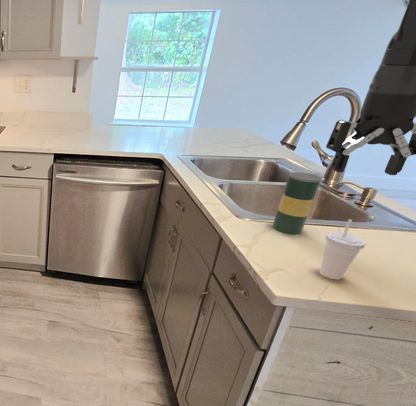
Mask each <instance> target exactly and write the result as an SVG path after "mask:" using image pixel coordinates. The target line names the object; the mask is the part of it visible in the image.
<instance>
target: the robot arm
mask: <svg viewBox="0 0 416 406" xmlns="http://www.w3.org/2000/svg"><path fill="white" fill-rule="evenodd" d="M402 4H403V6H404V7H405V11H404V13H403V16H402V20H401V21H400V24H399V27H398V29H397V30H396V32H394V33H393V34H392V35H391V37H390V39H389V41H388V43H387V44H386V47H385V51H384V53H383V56H382V58H381V61H380V62H379V63H380V64H379V65H378V68H377V70H376V72H375V73H374V75H373V77H372V80H371V82H370V84H369V86H368V90H367V92H366V96H365V98H364V100H363V103H362V106H361V109H360V112H359V117H358V119H357V120H356V121H348V120H344V119H338V120H337V121H336V122H335V124H334V127H333V128H332V131H331V134H330V136H329V138H328V141H327V143H326V145H325V147H326V149H328V150H330V151H333V152H335V155H334V157H333V160H332V162H331V168H332V170H333V172H336V173H344V172H345V169H346V167H347V164H348V162H349V159H350V154H351V153H353V152H354V151H356V150H357V149H359V148H362V147H364V146H365V145H379V144H380V145H384V146H389V147H390V148H391V150H392V152H393V153H394V154H391V155H390V157H389V158H388V159H389V160H388V161H387V164H386V166H385V169H384V173H385V174H387V175H389V176H397V175H398V173H400V172H402V171H403V167H404V165H405V163H406V161H407V159H408V158H409V157H410V156H415V155H416V122H414V119H415V118H416V0H402ZM353 129H354V131H355V132H354V133H352V134H351V135H350V136H348V133H350V132H352V130H353ZM410 131H411V135H410V138H409V142H408V141H407V139H406V137H405V135H406V134H408V133H409V132H410ZM347 136H348V137H347Z"/></svg>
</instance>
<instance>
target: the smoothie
mask: <svg viewBox="0 0 416 406" xmlns="http://www.w3.org/2000/svg"><path fill="white" fill-rule="evenodd" d="M352 222H353V219H350V218H348V220H347V222H346V225H345V227H344V230H343V232H338V231H331V232H327V233H326V235H325V237H324V238H325V240H326V241H325V245H324V249H323V254H322V259H321V264H320V268H319V274H320V275H321V276H323V277H325V278H327V279H330V280H337V281H338V280H341V279H342V277H343V276H344V275H345V274H346V272H347V270H348V269H349V268H350V266H351V265H352V264H353V262H354V260H355V259H356V257H357V255H358V254H359V253H360V251H362V250H364V249H365V246H366V242H365V240H363V239H362V238H360V237H358V236H356V235H352V234H349V233H348V231H349V229H350V227H351V224H352Z"/></svg>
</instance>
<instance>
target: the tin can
mask: <svg viewBox="0 0 416 406" xmlns="http://www.w3.org/2000/svg"><path fill="white" fill-rule="evenodd" d="M321 182H322V177H321V176H320V175H316V174H313V173H308V172H300V171H297V172H296V171H295V172H294V171H293V172H289V174H288V178H287V181H286V184H285V187H284V190H283V193H282V195H281V198H280V200H279V204H278V207H277V211H276V213H275V218H274V220H273V222H272V228H273V229H274V230H276V231H278V232H281V233H283V234H289V235H300V234H302V232H303V230H304V227H305V224H306V222H307V219H308V216H309V214H310V211H311V208H312V206H313V204H314V200H315V197H316V194H317V191H318V189H319V187H320V184H321Z"/></svg>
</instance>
